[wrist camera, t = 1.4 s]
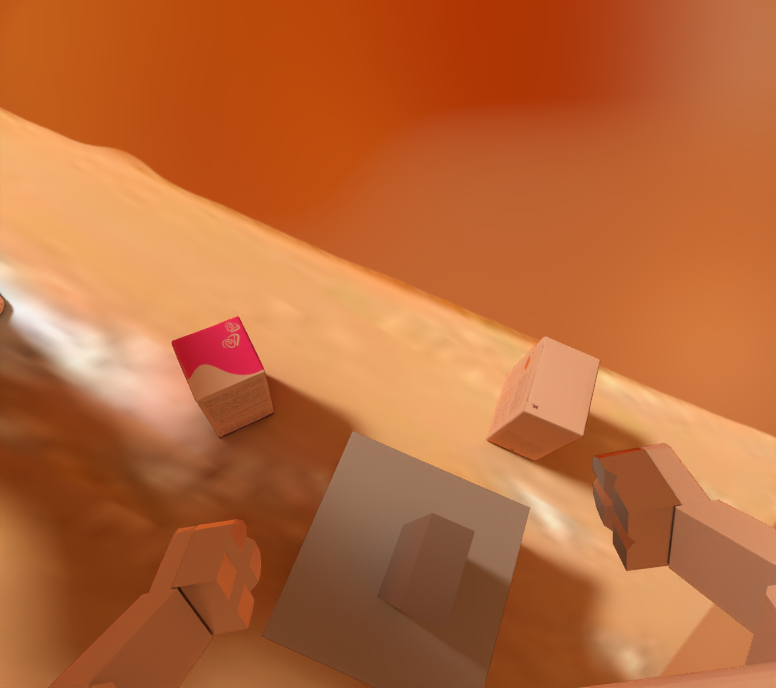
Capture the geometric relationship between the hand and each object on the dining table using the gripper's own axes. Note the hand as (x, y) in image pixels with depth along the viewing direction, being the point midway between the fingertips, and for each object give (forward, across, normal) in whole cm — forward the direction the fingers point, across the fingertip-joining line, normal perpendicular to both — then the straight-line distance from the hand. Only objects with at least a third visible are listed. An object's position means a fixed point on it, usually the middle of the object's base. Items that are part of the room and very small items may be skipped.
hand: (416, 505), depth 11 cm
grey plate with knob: (+14, +4, +23) cm, 27 cm away
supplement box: (+32, +19, +17) cm, 41 cm away
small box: (+33, -8, +27) cm, 43 cm away
